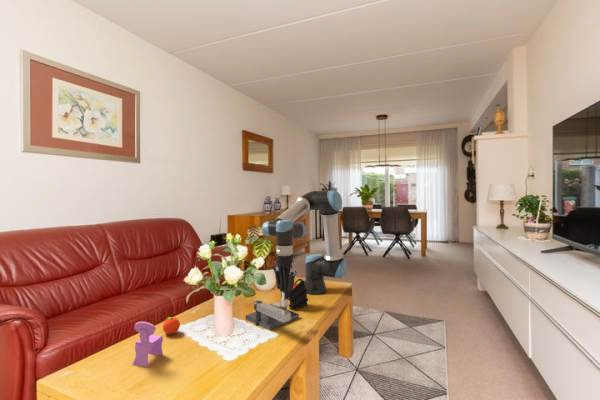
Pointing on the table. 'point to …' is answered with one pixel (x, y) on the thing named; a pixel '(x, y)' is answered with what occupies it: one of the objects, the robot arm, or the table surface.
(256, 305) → the swing arm
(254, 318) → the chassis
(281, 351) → the table surface
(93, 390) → the table surface
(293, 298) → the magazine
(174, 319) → the tomato
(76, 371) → the table surface
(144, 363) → the toy chair
